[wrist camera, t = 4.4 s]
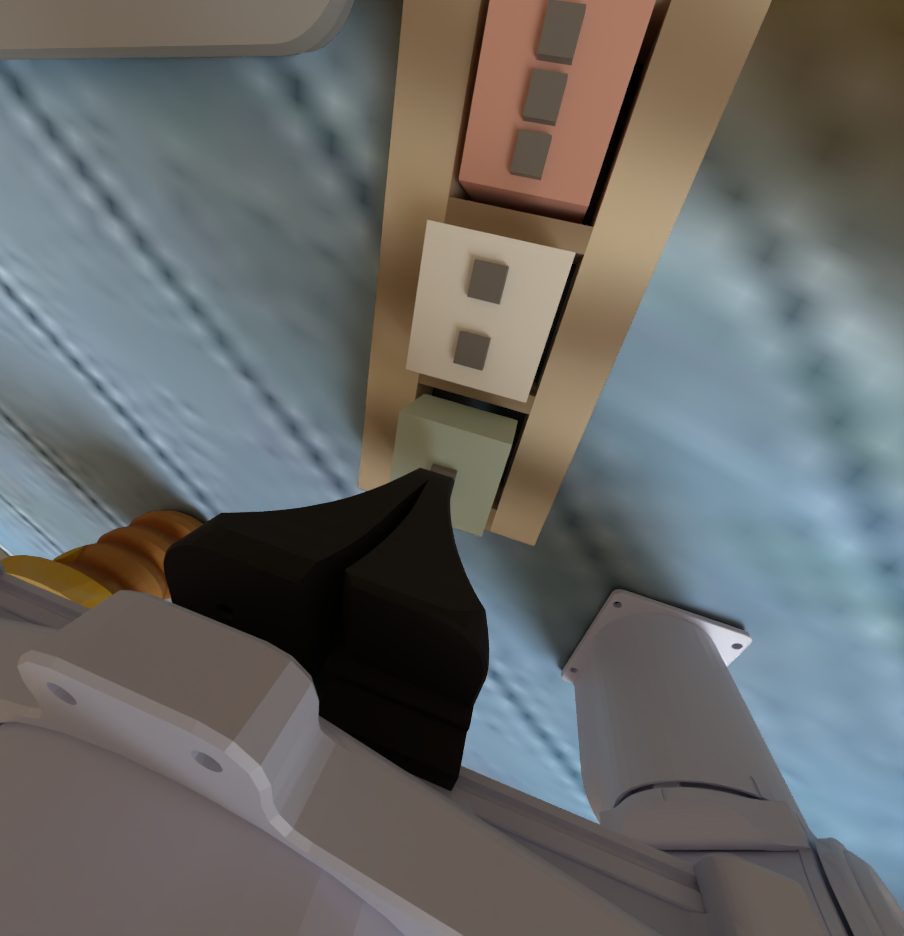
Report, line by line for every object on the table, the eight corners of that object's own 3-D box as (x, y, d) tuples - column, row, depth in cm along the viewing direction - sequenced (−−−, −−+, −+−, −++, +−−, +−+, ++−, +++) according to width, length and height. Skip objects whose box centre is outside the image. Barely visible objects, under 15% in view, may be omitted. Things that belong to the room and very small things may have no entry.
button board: (535, 514, 20) (534, 546, 17) (381, 465, 21) (357, 487, 18) (743, 13, 11) (808, -85, 8) (443, -25, 12) (415, -121, 9)
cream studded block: (529, 385, 14) (525, 405, 11) (430, 357, 14) (402, 370, 12) (568, 264, 12) (576, 250, 9) (452, 238, 12) (424, 217, 10)
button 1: (491, 501, 17) (480, 541, 14) (409, 475, 17) (383, 508, 14) (517, 420, 15) (511, 447, 12) (424, 393, 15) (396, 413, 12)
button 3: (579, 226, 13) (589, 203, 10) (474, 204, 14) (456, 176, 11) (630, 70, 11) (660, -12, 8) (504, 51, 12) (492, -32, 9)
